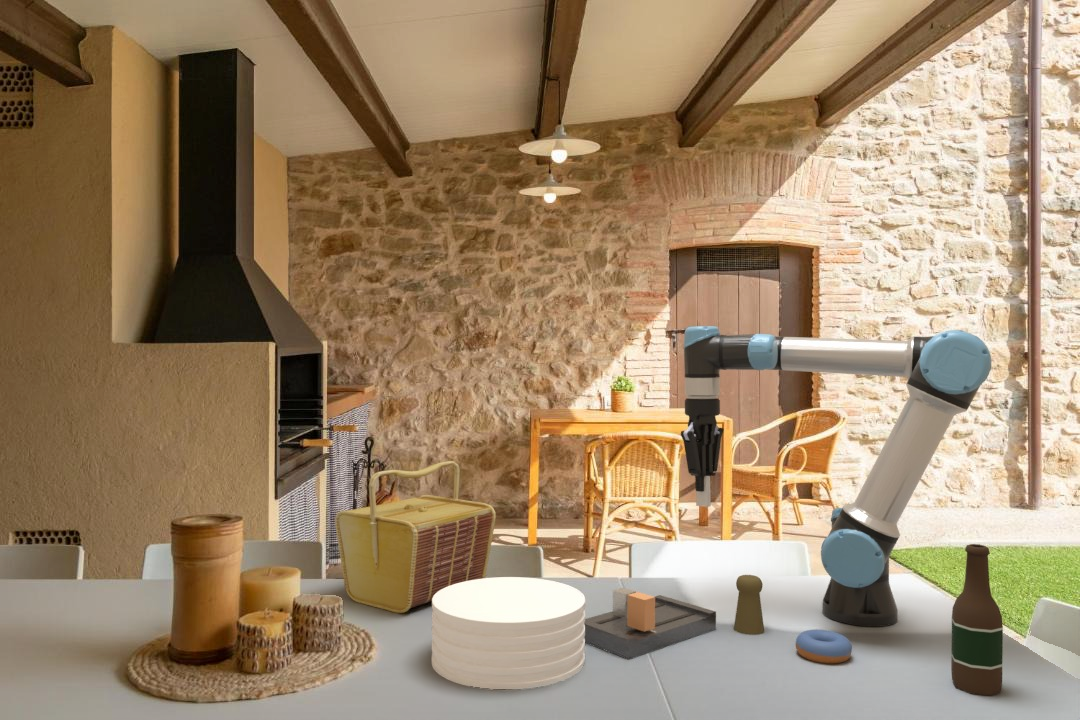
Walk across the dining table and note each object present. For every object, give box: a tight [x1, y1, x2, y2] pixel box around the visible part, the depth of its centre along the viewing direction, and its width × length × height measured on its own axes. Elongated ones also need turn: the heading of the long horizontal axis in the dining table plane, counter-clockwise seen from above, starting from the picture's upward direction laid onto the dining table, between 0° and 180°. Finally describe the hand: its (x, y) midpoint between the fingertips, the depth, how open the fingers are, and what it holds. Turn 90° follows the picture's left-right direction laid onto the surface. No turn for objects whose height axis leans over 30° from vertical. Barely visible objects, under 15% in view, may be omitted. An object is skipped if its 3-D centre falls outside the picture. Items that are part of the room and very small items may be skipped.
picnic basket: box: [334, 460, 497, 614], centre depth 190 cm, size 29×26×30 cm
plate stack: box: [431, 576, 586, 690], centre depth 150 cm, size 28×28×12 cm
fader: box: [627, 591, 655, 632], centre depth 158 cm, size 4×3×6 cm
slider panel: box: [584, 587, 717, 660], centre depth 165 cm, size 15×26×8 cm, turn 131°
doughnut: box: [795, 629, 853, 665], centre depth 153 cm, size 10×10×5 cm
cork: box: [733, 574, 765, 636], centre depth 167 cm, size 6×6×11 cm
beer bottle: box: [950, 543, 1004, 697], centre depth 139 cm, size 8×8×24 cm
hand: (703, 505), depth 178 cm, fingers closed
